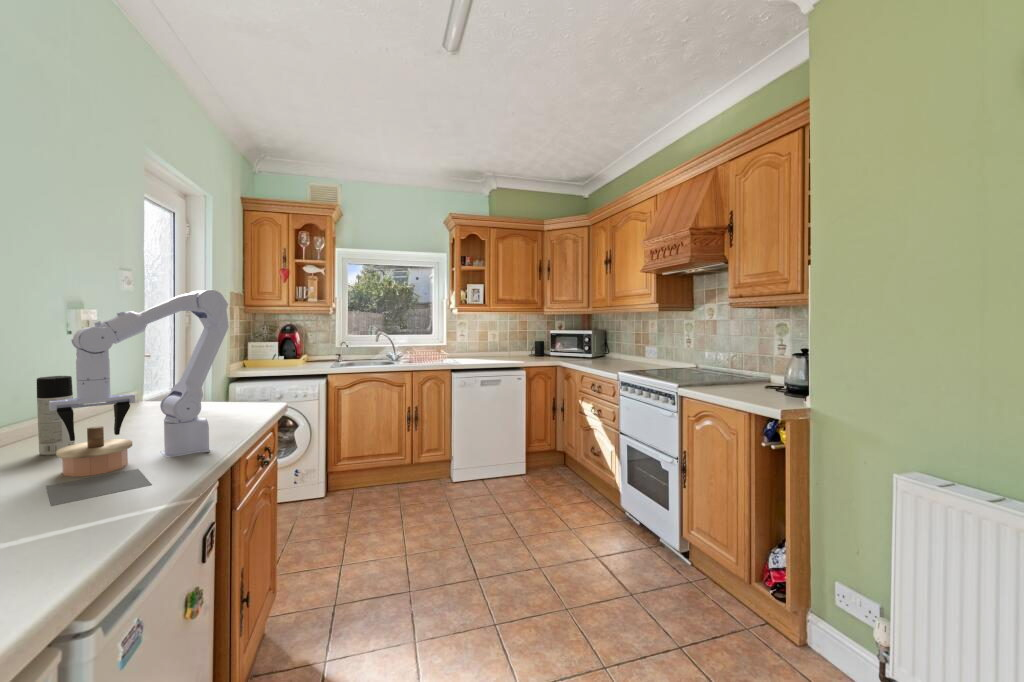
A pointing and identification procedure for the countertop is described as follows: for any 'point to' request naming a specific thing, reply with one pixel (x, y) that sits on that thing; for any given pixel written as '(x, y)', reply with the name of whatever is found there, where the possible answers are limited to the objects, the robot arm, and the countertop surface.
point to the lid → (94, 445)
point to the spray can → (52, 413)
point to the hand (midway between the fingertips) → (95, 437)
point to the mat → (95, 486)
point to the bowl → (94, 464)
